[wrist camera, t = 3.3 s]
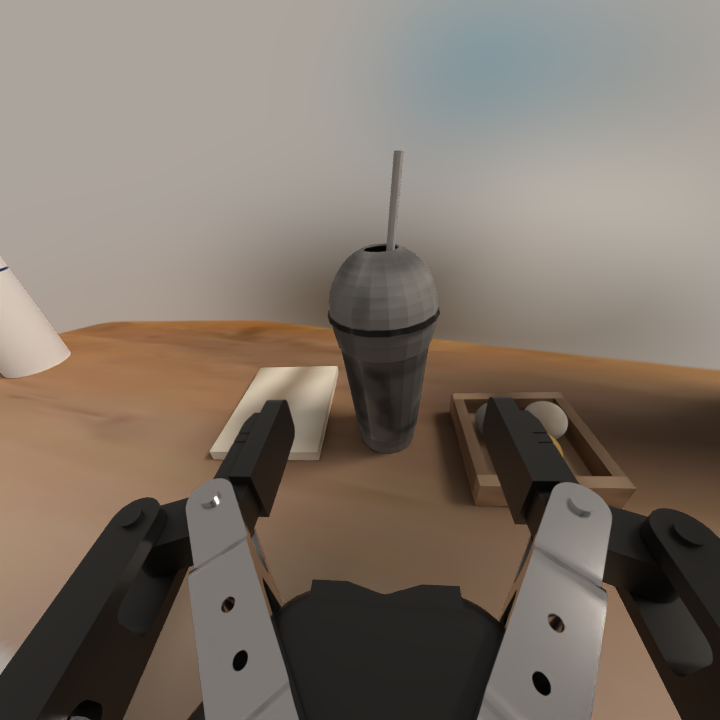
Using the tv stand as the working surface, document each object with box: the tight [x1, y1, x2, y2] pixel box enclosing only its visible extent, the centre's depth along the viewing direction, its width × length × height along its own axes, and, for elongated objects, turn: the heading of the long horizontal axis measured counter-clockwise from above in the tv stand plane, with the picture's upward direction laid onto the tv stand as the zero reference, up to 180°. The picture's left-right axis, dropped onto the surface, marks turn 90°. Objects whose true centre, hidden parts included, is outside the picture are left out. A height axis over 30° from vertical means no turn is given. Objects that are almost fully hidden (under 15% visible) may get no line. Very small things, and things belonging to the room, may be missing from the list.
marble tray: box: [450, 392, 636, 509], centre depth 22 cm, size 9×9×4 cm
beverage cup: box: [328, 151, 440, 453], centre depth 20 cm, size 7×7×20 cm
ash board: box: [210, 366, 338, 460], centre depth 29 cm, size 9×12×1 cm
